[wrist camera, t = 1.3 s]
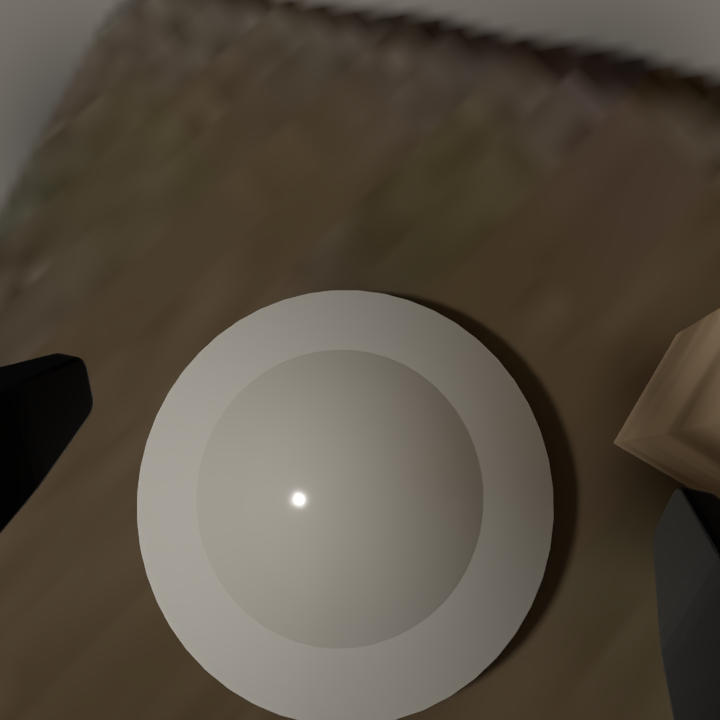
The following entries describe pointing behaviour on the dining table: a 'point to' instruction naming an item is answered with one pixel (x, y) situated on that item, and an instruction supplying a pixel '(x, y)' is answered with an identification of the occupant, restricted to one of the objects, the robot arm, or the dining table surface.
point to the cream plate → (345, 507)
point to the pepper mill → (682, 410)
